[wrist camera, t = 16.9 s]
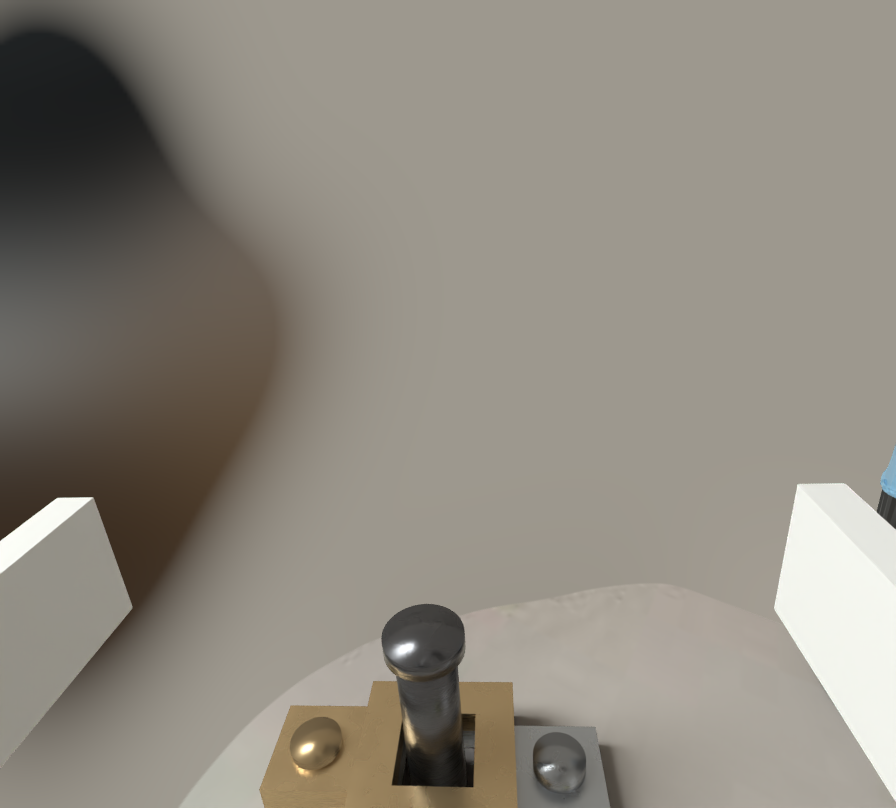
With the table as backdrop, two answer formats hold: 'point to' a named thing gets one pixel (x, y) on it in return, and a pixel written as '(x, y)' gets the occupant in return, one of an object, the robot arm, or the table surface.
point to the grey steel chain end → (552, 767)
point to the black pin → (429, 691)
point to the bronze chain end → (388, 754)
